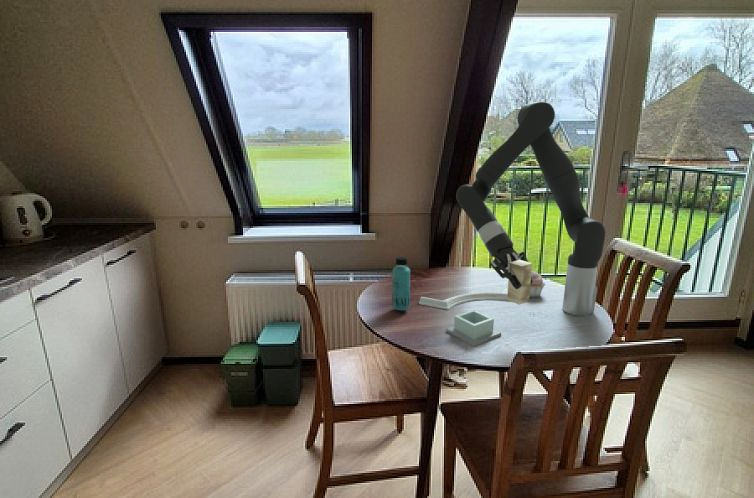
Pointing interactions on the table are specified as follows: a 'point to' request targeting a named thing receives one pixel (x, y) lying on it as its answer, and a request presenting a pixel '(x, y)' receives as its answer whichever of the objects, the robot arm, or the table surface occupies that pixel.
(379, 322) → the table surface
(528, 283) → the wooden block
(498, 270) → the robot arm
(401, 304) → the beverage bottle
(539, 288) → the cupcake
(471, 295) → the molding
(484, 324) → the square socket base
